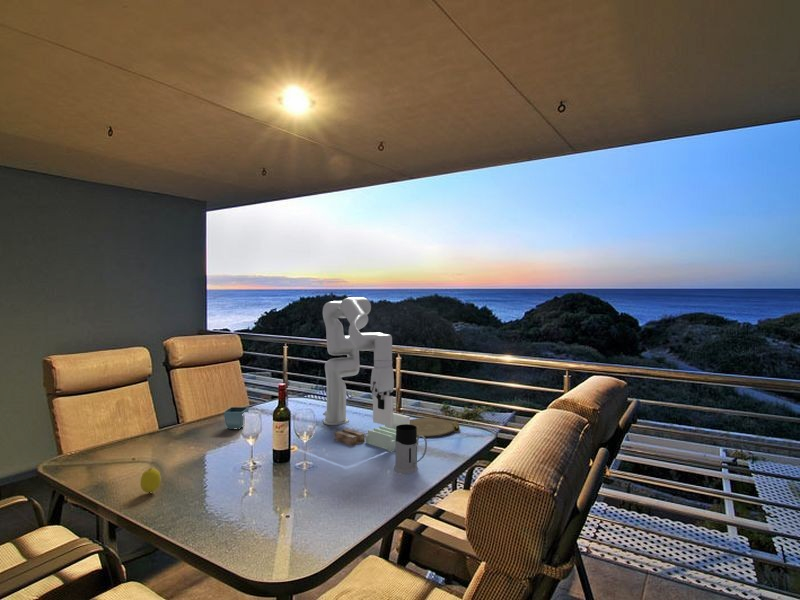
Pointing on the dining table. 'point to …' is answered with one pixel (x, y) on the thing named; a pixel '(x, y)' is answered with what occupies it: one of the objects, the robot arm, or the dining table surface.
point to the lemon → (150, 480)
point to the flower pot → (234, 417)
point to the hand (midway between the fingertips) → (382, 407)
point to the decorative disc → (434, 427)
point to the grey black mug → (407, 449)
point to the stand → (349, 437)
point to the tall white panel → (383, 411)
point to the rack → (386, 433)
